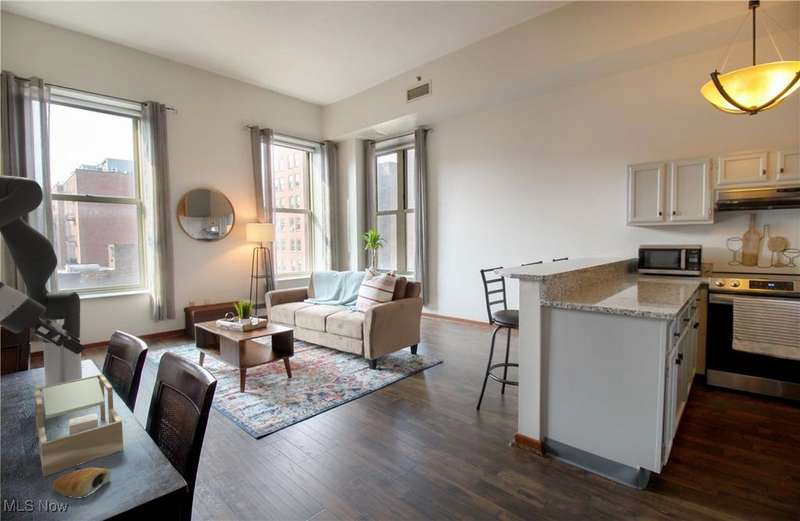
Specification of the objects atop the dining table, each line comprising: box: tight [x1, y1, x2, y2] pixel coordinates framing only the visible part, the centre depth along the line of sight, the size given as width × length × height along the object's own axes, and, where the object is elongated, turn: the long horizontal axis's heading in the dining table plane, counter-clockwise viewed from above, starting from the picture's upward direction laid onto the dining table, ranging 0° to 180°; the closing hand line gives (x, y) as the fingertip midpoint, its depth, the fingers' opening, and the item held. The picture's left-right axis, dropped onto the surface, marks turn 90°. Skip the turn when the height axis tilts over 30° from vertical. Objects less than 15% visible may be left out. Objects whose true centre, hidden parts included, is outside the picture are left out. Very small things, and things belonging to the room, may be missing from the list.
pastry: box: [52, 466, 111, 497], centre depth 75 cm, size 9×7×4 cm
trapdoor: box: [41, 377, 106, 420], centre depth 95 cm, size 11×11×1 cm
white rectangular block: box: [68, 412, 99, 435], centre depth 87 cm, size 5×5×8 cm
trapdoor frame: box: [33, 374, 124, 478], centre depth 91 cm, size 24×14×12 cm, turn 47°
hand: (79, 347), depth 93 cm, fingers open, 8 cm apart
